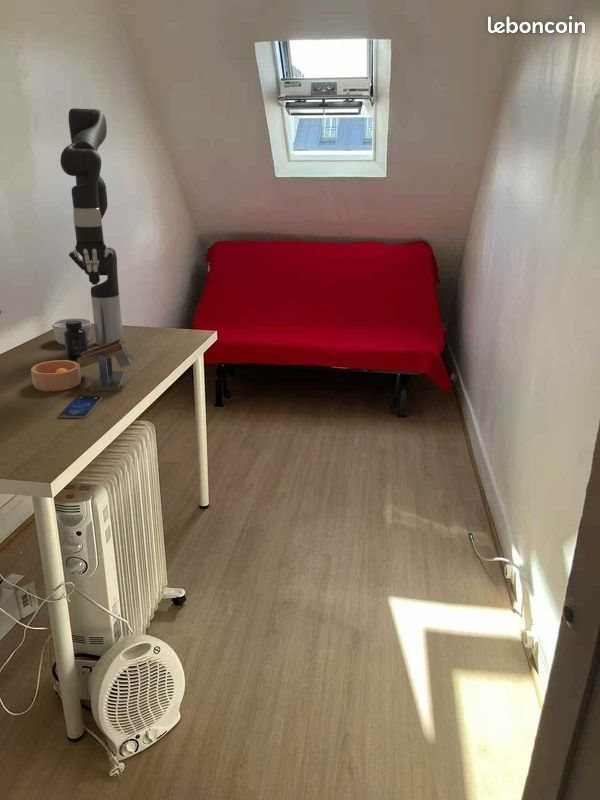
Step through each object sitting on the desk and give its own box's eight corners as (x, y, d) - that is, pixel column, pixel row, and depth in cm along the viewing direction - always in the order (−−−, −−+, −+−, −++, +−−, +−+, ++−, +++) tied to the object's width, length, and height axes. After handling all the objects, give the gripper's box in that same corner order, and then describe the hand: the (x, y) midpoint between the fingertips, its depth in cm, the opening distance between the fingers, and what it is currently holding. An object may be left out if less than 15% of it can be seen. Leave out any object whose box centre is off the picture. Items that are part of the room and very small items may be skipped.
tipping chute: (96, 364, 184) (86, 344, 182) (135, 349, 184) (126, 330, 182) (87, 380, 170) (76, 360, 168) (130, 364, 171) (120, 344, 168)
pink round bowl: (40, 377, 178) (37, 360, 176) (84, 375, 180) (82, 359, 178) (28, 392, 166) (26, 374, 164) (76, 390, 168) (73, 373, 166)
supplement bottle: (92, 355, 199) (88, 319, 195) (83, 361, 193) (79, 325, 188) (72, 354, 200) (68, 319, 195) (63, 360, 193) (58, 324, 189)
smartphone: (103, 395, 164) (85, 417, 150) (104, 398, 164) (86, 420, 150) (76, 394, 164) (56, 416, 150) (77, 397, 164) (56, 419, 150)
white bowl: (101, 340, 216) (99, 321, 213) (70, 348, 205) (68, 329, 203) (77, 334, 222) (74, 316, 220) (46, 342, 212) (43, 323, 209)
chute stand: (97, 374, 181) (94, 344, 177) (124, 374, 182) (121, 343, 179) (89, 391, 168) (85, 358, 165) (118, 390, 169) (115, 357, 166)
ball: (73, 372, 175) (64, 382, 175) (62, 363, 173) (53, 373, 174) (71, 377, 171) (61, 386, 172) (59, 368, 169) (50, 377, 170)
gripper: (113, 222, 176) (119, 281, 183) (67, 222, 174) (74, 281, 181) (110, 225, 169) (116, 286, 176) (61, 225, 167) (69, 287, 174)
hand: (94, 284), depth 179 cm, fingers closed
